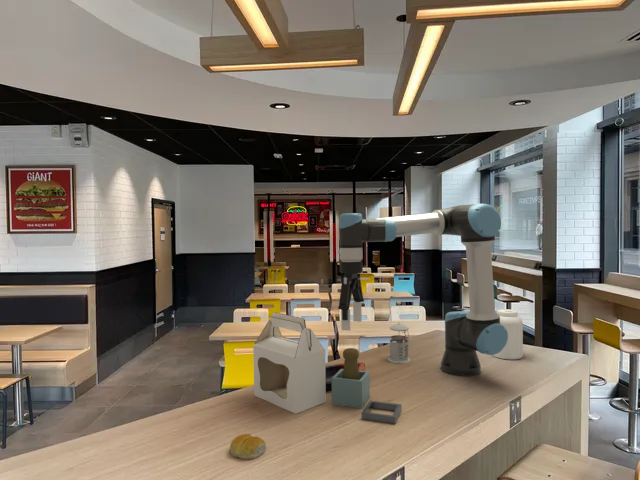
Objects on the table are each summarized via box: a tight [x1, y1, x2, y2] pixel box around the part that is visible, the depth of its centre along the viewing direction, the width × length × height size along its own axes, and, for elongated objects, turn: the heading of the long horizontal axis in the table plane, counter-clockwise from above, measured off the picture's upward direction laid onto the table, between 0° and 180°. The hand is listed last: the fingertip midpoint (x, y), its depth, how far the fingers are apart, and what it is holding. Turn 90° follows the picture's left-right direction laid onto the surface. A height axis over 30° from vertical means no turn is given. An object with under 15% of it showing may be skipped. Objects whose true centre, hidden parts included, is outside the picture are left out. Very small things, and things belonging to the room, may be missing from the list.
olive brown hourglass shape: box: [342, 347, 360, 380], centre depth 149 cm, size 6×6×11 cm
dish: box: [325, 361, 366, 391], centre depth 167 cm, size 16×31×5 cm, turn 125°
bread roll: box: [229, 433, 267, 460], centre depth 116 cm, size 8×9×4 cm
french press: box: [387, 301, 412, 364], centre depth 194 cm, size 10×12×25 cm
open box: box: [331, 369, 371, 409], centre depth 149 cm, size 10×10×8 cm
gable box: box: [252, 312, 327, 415], centre depth 151 cm, size 22×13×28 cm, turn 44°
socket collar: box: [361, 400, 403, 425], centre depth 137 cm, size 10×10×2 cm
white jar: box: [492, 308, 524, 360], centre depth 197 cm, size 12×12×20 cm
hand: (351, 325), depth 149 cm, fingers open, 13 cm apart
